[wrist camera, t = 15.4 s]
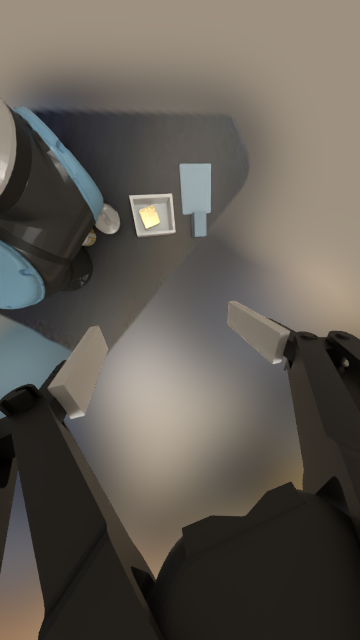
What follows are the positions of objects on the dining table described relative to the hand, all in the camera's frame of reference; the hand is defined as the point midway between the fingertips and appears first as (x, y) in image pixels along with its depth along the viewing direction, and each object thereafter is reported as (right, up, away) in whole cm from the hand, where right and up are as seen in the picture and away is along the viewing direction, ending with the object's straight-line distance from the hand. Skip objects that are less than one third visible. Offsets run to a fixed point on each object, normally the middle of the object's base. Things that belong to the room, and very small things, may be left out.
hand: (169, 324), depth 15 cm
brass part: (-8, +29, +25) cm, 39 cm away
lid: (+6, +34, +27) cm, 44 cm away
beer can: (-19, +29, +23) cm, 41 cm away
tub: (-7, +29, +26) cm, 40 cm away
